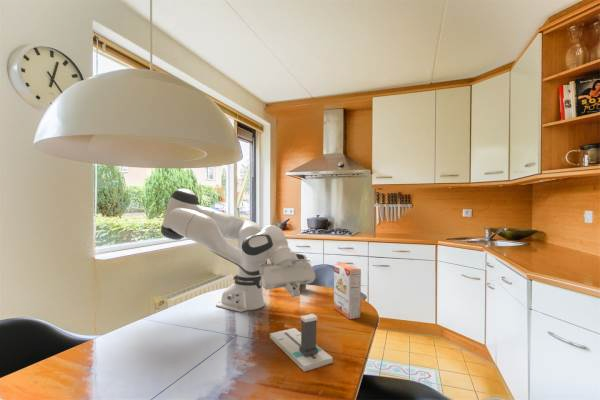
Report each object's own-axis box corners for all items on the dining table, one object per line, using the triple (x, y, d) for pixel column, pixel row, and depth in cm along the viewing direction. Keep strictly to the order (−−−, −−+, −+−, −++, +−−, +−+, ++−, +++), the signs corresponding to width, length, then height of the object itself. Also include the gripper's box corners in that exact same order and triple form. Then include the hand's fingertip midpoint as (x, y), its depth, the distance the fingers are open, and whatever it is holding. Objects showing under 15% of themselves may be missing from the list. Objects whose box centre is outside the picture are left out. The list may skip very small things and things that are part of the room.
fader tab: (299, 350, 91) (299, 315, 91) (311, 347, 93) (311, 313, 93) (305, 356, 87) (306, 319, 87) (318, 353, 89) (318, 317, 89)
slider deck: (269, 337, 103) (269, 333, 103) (294, 331, 108) (294, 327, 108) (304, 371, 82) (304, 366, 82) (332, 362, 87) (332, 357, 87)
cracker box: (332, 308, 133) (333, 263, 134) (344, 307, 135) (344, 262, 136) (348, 320, 120) (349, 269, 120) (361, 318, 122) (361, 268, 123)
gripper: (259, 259, 101) (271, 295, 92) (309, 254, 111) (323, 286, 103) (254, 270, 104) (265, 305, 96) (303, 264, 115) (316, 296, 106)
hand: (296, 295), depth 99 cm, fingers closed
